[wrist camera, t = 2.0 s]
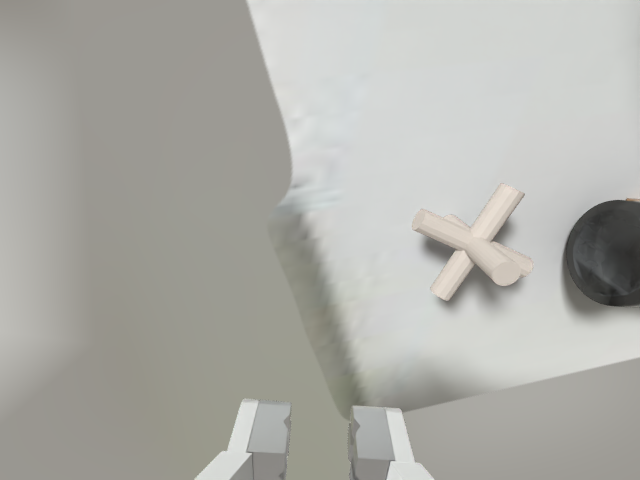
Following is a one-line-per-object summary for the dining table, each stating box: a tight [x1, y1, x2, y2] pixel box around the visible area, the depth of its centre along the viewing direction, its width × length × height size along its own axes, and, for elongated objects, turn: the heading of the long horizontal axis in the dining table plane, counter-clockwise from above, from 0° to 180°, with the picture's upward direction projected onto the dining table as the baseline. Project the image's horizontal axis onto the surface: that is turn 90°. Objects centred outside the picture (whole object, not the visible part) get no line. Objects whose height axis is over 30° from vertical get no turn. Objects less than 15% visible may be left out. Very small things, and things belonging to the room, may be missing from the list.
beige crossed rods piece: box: [412, 183, 533, 301], centre depth 25 cm, size 10×10×10 cm
